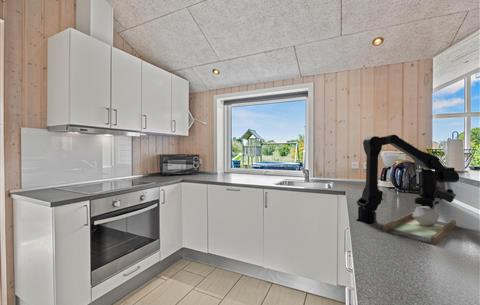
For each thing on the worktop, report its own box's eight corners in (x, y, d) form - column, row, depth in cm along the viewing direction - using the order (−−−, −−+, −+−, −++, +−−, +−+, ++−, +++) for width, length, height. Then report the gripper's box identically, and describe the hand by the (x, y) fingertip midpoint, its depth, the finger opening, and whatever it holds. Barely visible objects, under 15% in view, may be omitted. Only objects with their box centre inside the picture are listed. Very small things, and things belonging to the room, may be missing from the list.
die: (440, 231, 89) (446, 210, 91) (418, 221, 91) (425, 200, 93) (425, 230, 97) (431, 210, 99) (405, 220, 98) (412, 201, 100)
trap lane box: (383, 231, 88) (383, 225, 88) (411, 216, 108) (411, 212, 108) (434, 245, 75) (434, 238, 75) (455, 225, 95) (455, 220, 95)
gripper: (448, 187, 86) (449, 226, 86) (457, 182, 97) (458, 216, 97) (413, 184, 95) (414, 220, 95) (425, 180, 106) (426, 211, 106)
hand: (429, 217), depth 98 cm, fingers closed
